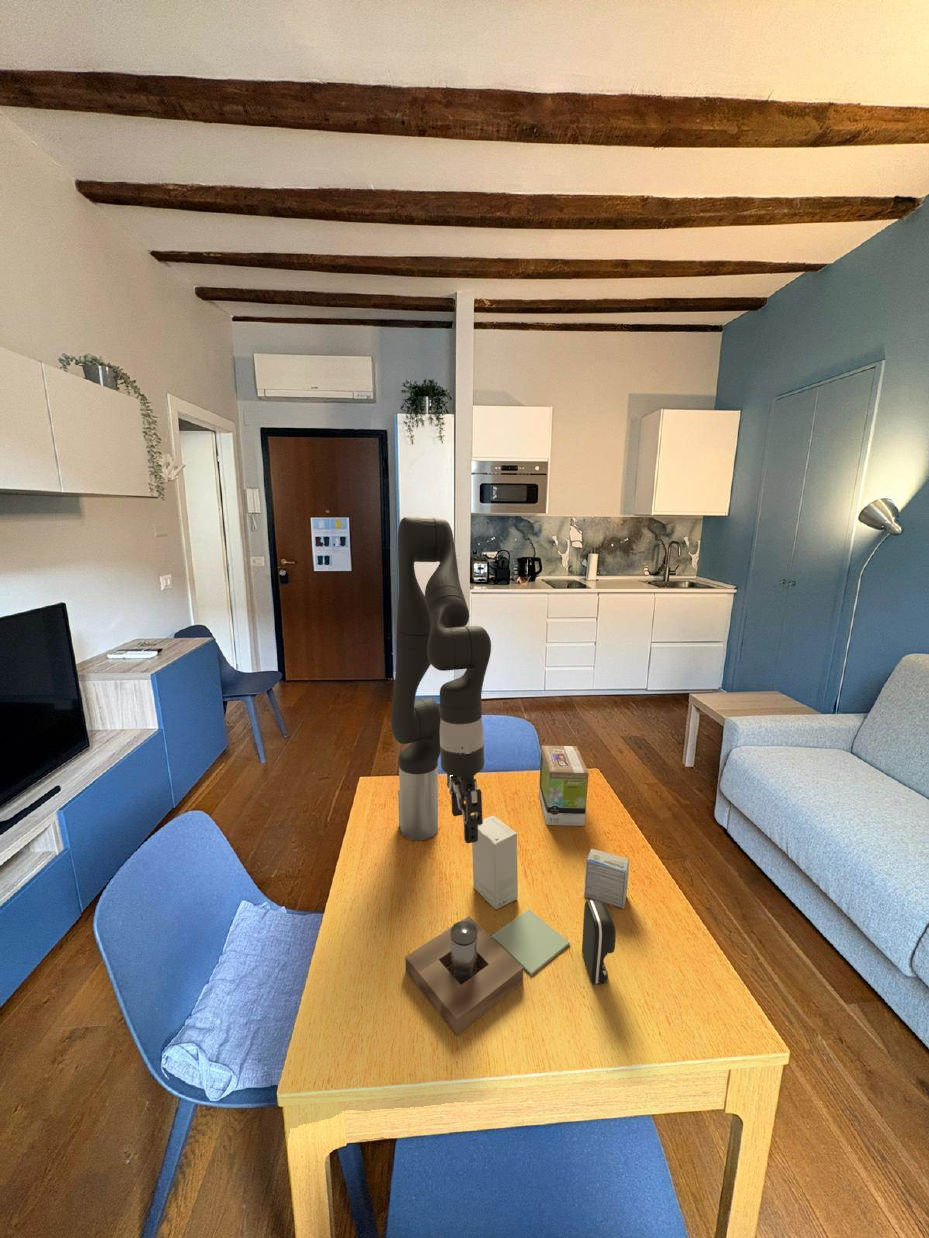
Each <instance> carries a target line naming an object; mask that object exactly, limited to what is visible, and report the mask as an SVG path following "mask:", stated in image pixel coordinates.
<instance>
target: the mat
mask: <svg viewBox="0 0 929 1238" xmlns="http://www.w3.org/2000/svg"><path fill="white" fill-rule="evenodd" d="M490 936H491V937H492V938H493V939H494V940H495V941H496V942H497V943H498V944H499V945H500V946H501V947H502V948H504V949H505V950H506V951H507V952H508V953H509V954H510V955H511V956H512V957H513V958H514V959H515V960H516V961H517V962H518V963H519V964H520V965H521V966H522V967H523V970H524V971H525V972H527V974H529V975H530V976H533V975H534V974H535V973H536V972H538V971H539V970H540V969H541V968H543V967H544V966H545V965H546V964H547V963H549V962H550V961H551V960H552V959H554V958H555V957H556V956H558V955H559V954H560V953H561V952H562V951H564V950H565V949H566V948H567V947H568V946H570V943H571V942H570V941H569V940H568V939H566V938H565V937H564V936H563V935H561V934H560V933H559V932H558V931H557V930H555V929H554V928H553V927H551V926H550V925H549V924H548V923H546V922H545V921H544V920H543V919H542V918H540V917H539V916H538V915H537V914H536V913H535V912H533V911H532V910H531V909H529V908H528V909H527V910H525V912H523V913H521V914H520V915H518V916H517V917H516V918H514V919H513V920H512V921H510V922H509V923H506V925H504V926H503V927H501V928H500V929H498V930H497V931H496V932H494V933H493V934H490Z"/></svg>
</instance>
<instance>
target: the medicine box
mask: <svg viewBox="0 0 929 1238" xmlns="http://www.w3.org/2000/svg"><path fill="white" fill-rule="evenodd" d="M585 861H586V862H585V875H584V876H585V878H584V891H583V892H584V894H583V896H584V897H585V898H587V899H589V900H592V901H603V902H605V903H606V905H609V906H613V907H617V908H619V909H622V910H623V909H625V906H626V900H627V895H628V883H629V882H628V881H629V868H630V859H629V858H627V857H624V856H619V855H617V854H612V853H609V852H605V851H603V850H598V849H595V848H590V850H589V853H588V855H587V858H586V860H585Z"/></svg>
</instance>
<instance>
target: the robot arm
mask: <svg viewBox="0 0 929 1238" xmlns="http://www.w3.org/2000/svg"><path fill="white" fill-rule="evenodd" d="M398 524H399V525H398V529H397V564H398V565H397V569H398V570H397V571H398V575H397V576H398V598H397V600H398V601H397V614H396V615H397V617H396V631H395V632H396V633H395V634H396V636H395V637H396V638H395V643H396V644H395V646H396V648H395V649H396V650H395V651H396V653H395V657H396V658H395V673H394V675H395V677H394V687H393V695H392V701H391V711H390V727H391V732H392V735H393V737H394V739H395V741H396V742H397V743H399V744H402V745H407V744H409V745H407V746H406V747H405V748H404V749H403V750H401V752H400V753H399V756H398V768H399V769H398V773H399V775H398V777H399V778H398V779H399V789H398V791H397V793H398V794H397V795H398V796H397V797H398V798H397V800H398V804H397V805H398V806H397V807H398V825H399V828H400V829H399V830H400V833H401V835H402V836H403V837H404V838H406V839H408V840H410V841H417V842H419V841H425V840H428V839H431V838H432V837H434V836H435V835H436V834H437V833H438V831H439V830H438V829H439V758H440V767H441V769H442V771H443V772H444V773H445V774H446V786H447V788H448V789H449V795H450V796H451V799H450V801H451V802H450V803H451V814H452V815H453V816H454V817H459V816H462V821H463V834H464V836H463V837H464V841H465V843H466V844H472V843H473V842H477V841H478V825H481V824H483V819H484V818H483V803H482V802H483V801H482V800H483V799H482V798H483V797H482V795H483V794H482V793H483V792H482V790H481V788H479V789H478V783H477V778H475V776H476V775H477V774H478V773H479V772H481V771H482V770H483V769H484V766H485V739H484V738H485V737H484V735H485V734H484V722H483V711H482V709H483V708H482V691H483V687H484V686H483V685H484V680H485V677H486V672H487V668H488V666H489V662H490V658H491V653H492V641H491V637H490V635H489V633H488V632H487V630H486V629H485V628H483V626H479V625H467V624H468V622H469V621H470V612H469V607H468V604H467V601H466V599H465V595H464V592H463V589H462V585H461V581H460V576H459V568H458V559H457V554H456V553H457V552H456V546H455V540H454V535H453V534H454V533H453V530H452V527H451V525H450V523H449V522H448V521H447V520H446V519H444V518H439V517H423V516H422V517H421V516H405V517H402V518H401V520H400V521H399V523H398ZM415 563H439V564H438V566H437V568H436V569H435V570H434V572H433V573H432V575H431V576H430V578H429V579H428V580H427V583H426V586H425V589H424V592H423V591H422V589H421V586H420V584H419V582H418V579H417V576H416V570H415ZM430 666H432V667H433V668H435V670H438V671H442V672H444V671H445V672H446V671H447V672H448V671H456V670H457V671H459V670H465V672H464V673H463V675H461V676H460V677H457V678H455V679H452V680H449V681H447V682H445V683H444V684H442V685H441V687H440V689H439V705H438V702H437V701H436V700H434V699H433V698H431V697H424V698H418V699H416V695H417V692H418V691H417V690H418V688H419V685H420V683H421V681H422V679H423V678H424V676H425V674H426V673H427V671H428V669H429V668H430Z"/></svg>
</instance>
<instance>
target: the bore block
mask: <svg viewBox="0 0 929 1238" xmlns="http://www.w3.org/2000/svg"><path fill="white" fill-rule="evenodd" d="M461 921H468V922H471V923H473V924H474V925H475V926H476V928H477V969H478V970H479V971H477V974H475V975H474V976H473V977H471V978H470V979H469V980H467V981H466V982H464V983H463V984H462V985H461V984H460V983H459V982H458V981H457V980H456V979H455V978H454V976H453V975H452V974H451V971H449V968H451V928H452V926H451V927H449V928H448V929H446V930H444V931H443V932H441V933H439V934H438V935H437V936H434V938H432V939H431V940H429V941H427V942H425V943H424V944H423V945H421V946H420V947H418V948H416V949H415V950H413V951H412V952H410V953H409V954H407V955H405V956H404V957H405V958H404V959H405V960H404V961H405V962H404V963H405V973H406V974H407V975H408V976H409V978H411V980H412V981H413V983H414V984H415V985H416V986H417V988H418V989H419V991H421V993H422V994H423V996H424V997H425V998H426V999H427V1000H428V1002H429V1003H430V1004H431V1006H432V1007H433V1008H434V1009H435V1010H436V1012H437V1013H438V1015H440V1016H441V1019H442V1020H444V1022H445V1023H446V1025H448V1026H449V1028H450V1029H451V1031H453V1033H454V1035H456V1037H458V1036H459V1035H460V1034H461V1033H462V1032H464V1031H465V1030H466V1029H468V1028H469V1027H470V1026H471V1025H473V1024H474V1023H475V1022H477V1021H478V1019H480V1018H481V1017H482V1016H484V1015H485V1014H486V1013H487V1012H488V1011H489V1010H491V1009H492V1008H493V1007H494V1006H496V1005H498V1003H499V1002H501V1001H502V1000H503V999H504V998H505V997H507V996H509V995H510V994H511V993H512V992H513V991H514V990H515V989H517V988H518V987H519V986H521V985H522V984H523V983H524V968H523V967H522V966H521V965H520V964H519V963H518V962H517V961H516V960H515V959H514V958H513V957H512V956H511V955H510V954H509V953H508V952H507V951H506V950H505V949H504V948H502V947H501V946H500V945H499V944H498V943H497V942H496V941H495V940H494V939H493V938H492V937H491V934H489V933H488V932H487V931H486V930H485V929H484V928H482V927H481V926H480V924H478V923H477V922H476V920H474V919H473V918H472V917H471V916H470V915H468V916H466V917H465V918H463V919H462V920H461Z"/></svg>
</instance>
